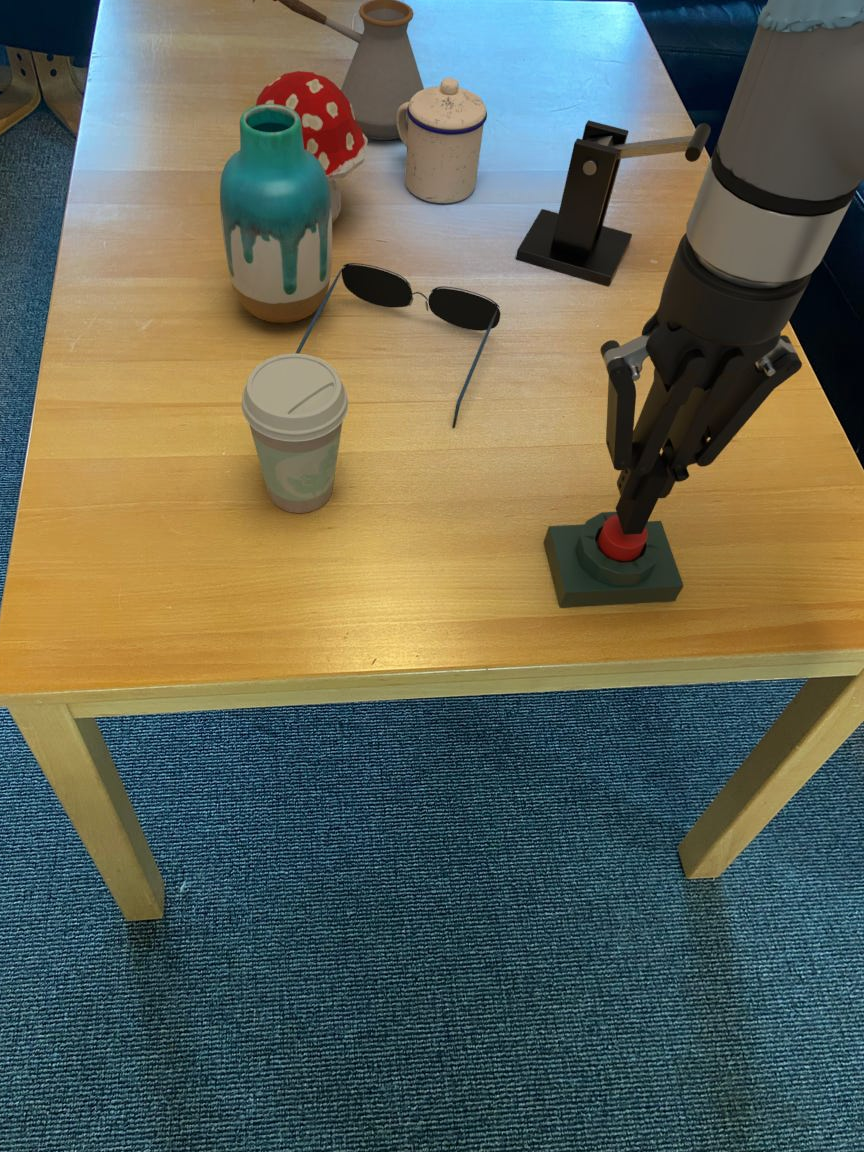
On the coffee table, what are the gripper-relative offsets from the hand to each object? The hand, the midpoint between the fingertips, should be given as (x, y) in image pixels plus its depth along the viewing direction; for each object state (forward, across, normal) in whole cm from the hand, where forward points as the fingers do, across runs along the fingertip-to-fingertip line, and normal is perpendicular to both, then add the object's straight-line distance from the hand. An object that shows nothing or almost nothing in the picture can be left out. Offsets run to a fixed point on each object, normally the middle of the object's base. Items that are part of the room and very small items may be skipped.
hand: (628, 520), depth 68 cm
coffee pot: (+7, +17, -74) cm, 76 cm away
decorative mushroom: (+7, +23, -53) cm, 58 cm away
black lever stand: (+7, -7, -45) cm, 46 cm away
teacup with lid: (+7, +8, -60) cm, 61 cm away
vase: (+7, +27, -36) cm, 46 cm away
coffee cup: (+7, +26, -11) cm, 29 cm away
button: (+3, 0, 0) cm, 3 cm away
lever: (-5, -11, -43) cm, 45 cm away
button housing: (+7, 0, 0) cm, 7 cm away
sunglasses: (+7, +15, -28) cm, 33 cm away
